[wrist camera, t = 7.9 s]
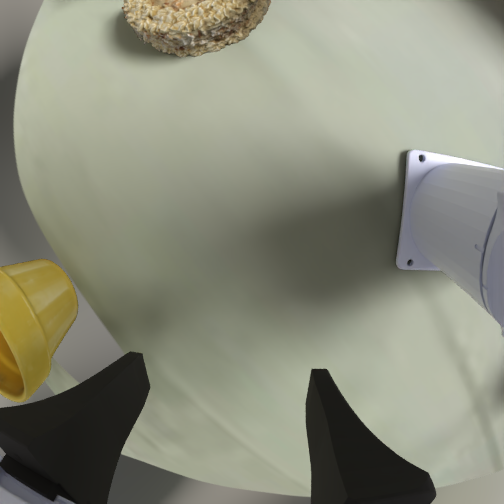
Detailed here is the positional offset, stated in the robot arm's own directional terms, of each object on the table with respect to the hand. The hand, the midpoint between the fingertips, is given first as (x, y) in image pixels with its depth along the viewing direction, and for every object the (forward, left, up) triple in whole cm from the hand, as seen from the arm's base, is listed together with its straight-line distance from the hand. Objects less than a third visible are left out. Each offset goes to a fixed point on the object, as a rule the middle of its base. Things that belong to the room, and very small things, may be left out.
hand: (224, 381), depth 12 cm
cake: (+4, -20, -10) cm, 23 cm away
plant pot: (+18, +2, -10) cm, 20 cm away
